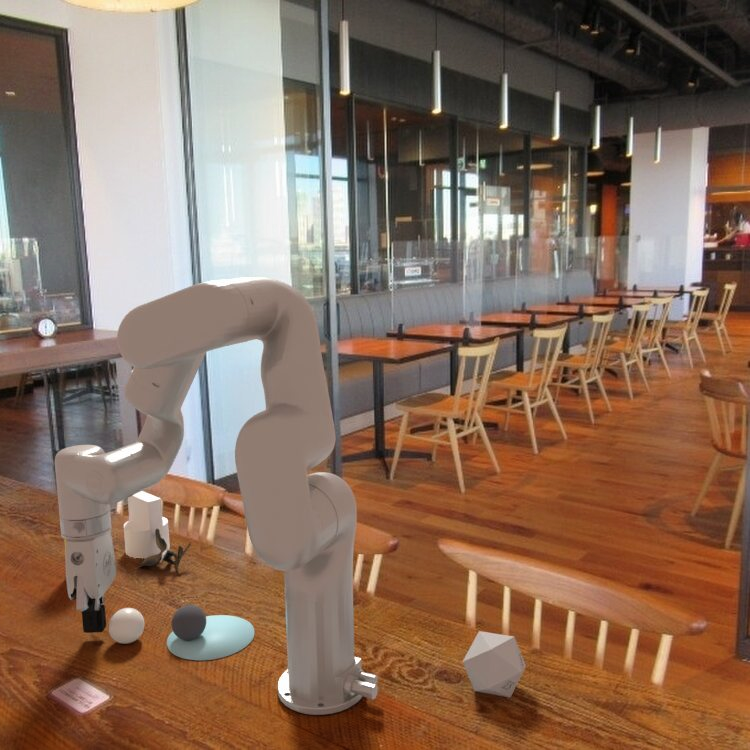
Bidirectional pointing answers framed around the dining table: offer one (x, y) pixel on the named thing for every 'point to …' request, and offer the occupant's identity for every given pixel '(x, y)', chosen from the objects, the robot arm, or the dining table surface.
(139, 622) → the cue ball
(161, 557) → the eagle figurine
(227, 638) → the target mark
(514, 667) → the die
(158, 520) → the base with upright slab
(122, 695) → the dining table surface
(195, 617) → the object ball
